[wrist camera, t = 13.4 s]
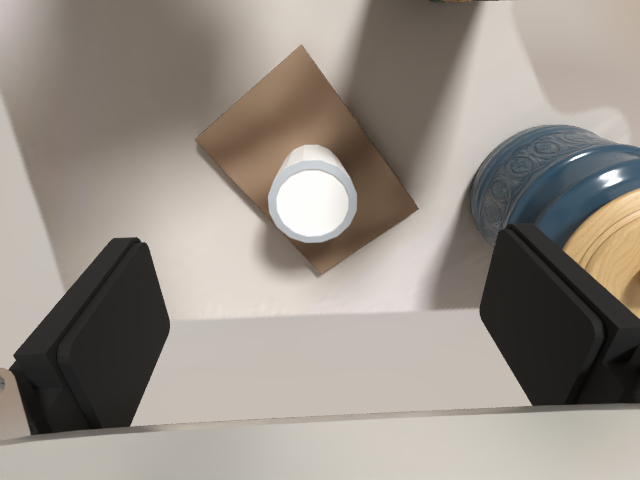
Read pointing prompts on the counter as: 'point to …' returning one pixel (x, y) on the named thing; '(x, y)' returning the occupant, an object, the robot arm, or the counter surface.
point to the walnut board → (306, 129)
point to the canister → (568, 200)
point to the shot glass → (312, 195)
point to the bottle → (458, 0)
